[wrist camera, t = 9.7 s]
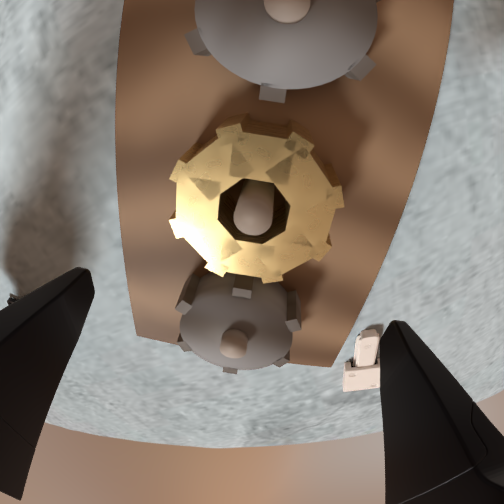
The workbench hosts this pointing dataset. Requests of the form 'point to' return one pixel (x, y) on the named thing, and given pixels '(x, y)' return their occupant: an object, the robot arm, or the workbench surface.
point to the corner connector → (363, 363)
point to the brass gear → (263, 169)
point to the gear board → (337, 131)
